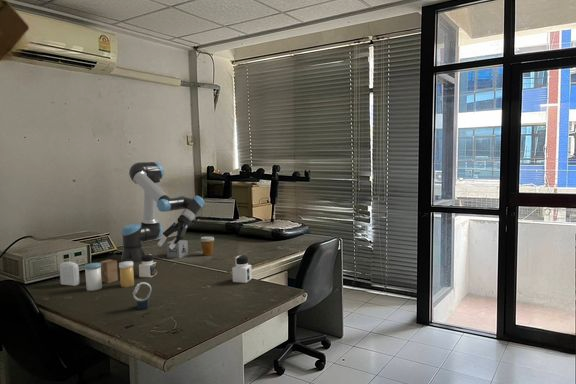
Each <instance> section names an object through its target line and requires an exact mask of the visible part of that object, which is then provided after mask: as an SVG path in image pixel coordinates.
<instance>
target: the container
mask: <svg viewBox="0 0 576 384" xmlns="http://www.w3.org/2000/svg"><path fill="white" fill-rule="evenodd" d="M234 261H235V265H234V266H232V269H231V270H232V271H231V273H232V282H233V283H243V284H246V283H248V282H250V281H251V280H252V279H253V273H252V270H253V269H252V264H249V258H248V256H247V255H237V256H236V257H235V259H234Z"/></svg>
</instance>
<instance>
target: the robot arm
mask: <svg viewBox="0 0 576 384" xmlns="http://www.w3.org/2000/svg"><path fill="white" fill-rule="evenodd" d="M163 167H164V166H162V164H161V163H159V162H155V161H145V162H135V163H134V164H132V165H131V166H130V168H129V171H128V176H129V178H130V180H131V181H132V182H133V183H134V184H136V185H137V186H139V187H141V189H142V190H143V219H142V220H141V222H140V223H130V224H126V225H125V226H123V227H122V232H121V235H122V246H123V247H122V254H121V257H120V260H121V262H125V261H133V263H135V262H140V261H141V262H142V256H143V255H146V254H145V251H144V248H143V243H145V242H146V243H147V242H151V241H155V240H158V239H159V241H158V242H157V245H158V246H159V247H162V246H163V244H164V243H166V240H167V239H168V238H169V236H171V235H172V234H174V233H177V234H176V236H175V238H174V239H173V240H171V241H172V243H171V244H170V245H169V248H171V249H173V248H174V247H175V245H176V244H177V243H178V241H179V240H184V238H185V235H186V232H187V230H188V228H189V226H190V224H191V222H192V221H193V220H194V219H195V217H196V216H197V214H198V213H199V212H200V210H201V209H202V208H203V206H204V205H205V200H204V199H203V197H201V196H199V195H195V196H193V198H192V197H187V196H184V195H177V196H176V197H171V198H170V197H169V196H168V195H167V194H166V193H165V191H164V190H162V189H161V188H160V187H159V184H160V183H161V180H162V179H163V177H164V175H165V171H164V168H163ZM177 210H183V211H182V212H181V214H180V215H179V217H177V218H176V220H177V222H173V223H172V224H171V225H170V226H169V227H168V228H166V230H165V231H163V227H162V223H160V221H159V219H158V211H160V212H163V213H164V212H171V211H172V212H173V211H177Z"/></svg>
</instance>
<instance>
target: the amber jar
mask: <svg viewBox="0 0 576 384" xmlns="http://www.w3.org/2000/svg"><path fill="white" fill-rule="evenodd" d="M118 267H119V278H120V280H119V281H120V287H121V288H130V287H134V285H135V275H134V272H135V271H134V262H133V261H125V262H122V261H121V262H119V263H118Z"/></svg>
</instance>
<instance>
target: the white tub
mask: <svg viewBox="0 0 576 384" xmlns="http://www.w3.org/2000/svg"><path fill="white" fill-rule="evenodd" d="M83 267H84V271H85V273H84V275H85V285H86V291H88V292H90V291H98V290H100V289H102V288H103V284H102V283H103V282H102V281H101V263H100V262H91V263H87V264H86V263H85V265H84V266H83Z"/></svg>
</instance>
